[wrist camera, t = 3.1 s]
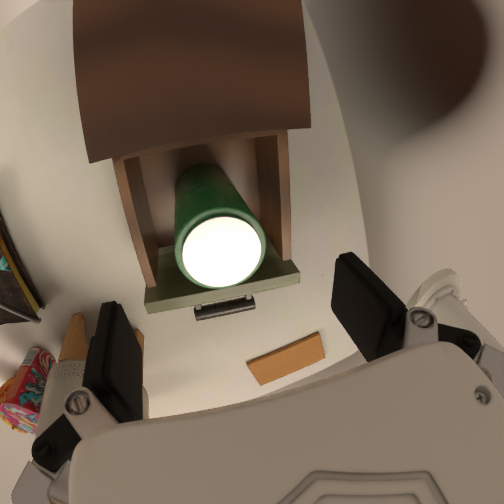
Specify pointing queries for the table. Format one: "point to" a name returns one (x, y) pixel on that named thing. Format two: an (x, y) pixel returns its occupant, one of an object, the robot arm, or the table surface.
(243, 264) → the green can
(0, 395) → the apple
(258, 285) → the drawer
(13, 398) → the cup
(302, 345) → the mat
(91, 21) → the cabinet
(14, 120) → the table surface
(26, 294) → the book
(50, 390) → the planter
